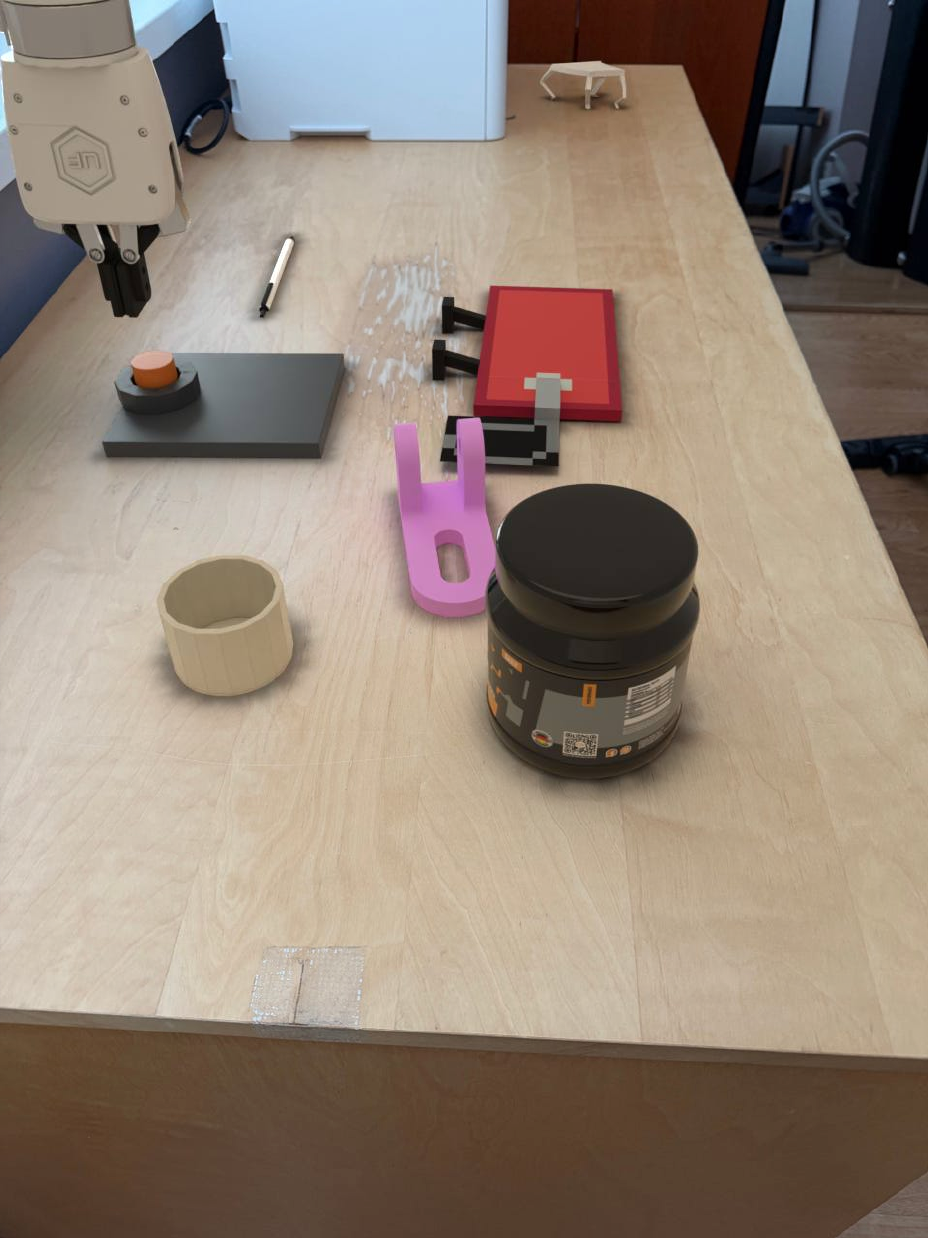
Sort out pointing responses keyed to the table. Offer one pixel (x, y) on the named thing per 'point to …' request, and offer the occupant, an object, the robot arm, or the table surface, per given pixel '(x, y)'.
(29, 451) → the table surface
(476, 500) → the bracket
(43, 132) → the robot arm
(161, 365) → the button
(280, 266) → the pen
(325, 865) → the table surface
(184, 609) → the cup
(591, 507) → the supplement container
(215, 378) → the dark grey flat block
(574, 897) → the table surface
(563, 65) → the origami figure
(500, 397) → the red board with handle
